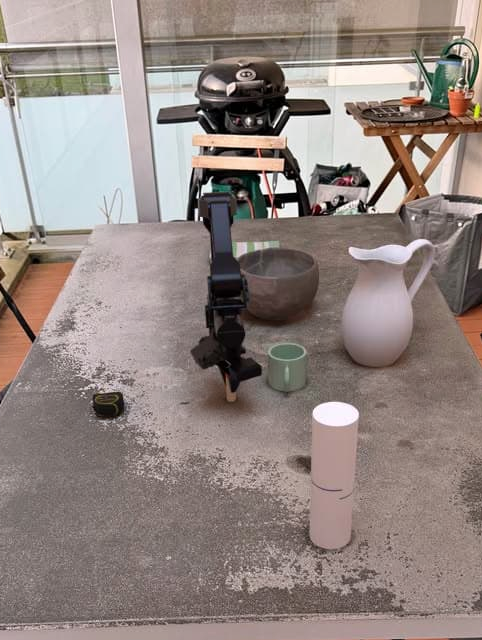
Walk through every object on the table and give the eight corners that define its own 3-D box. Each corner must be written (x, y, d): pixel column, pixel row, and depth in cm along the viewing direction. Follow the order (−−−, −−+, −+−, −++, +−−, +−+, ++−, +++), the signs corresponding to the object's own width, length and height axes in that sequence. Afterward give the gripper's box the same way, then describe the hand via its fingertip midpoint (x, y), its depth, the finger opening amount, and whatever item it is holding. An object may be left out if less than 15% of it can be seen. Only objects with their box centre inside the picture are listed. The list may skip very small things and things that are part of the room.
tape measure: (124, 402, 167) (122, 388, 165) (125, 418, 161) (123, 403, 159) (93, 406, 166) (91, 391, 164) (94, 421, 160) (91, 407, 158)
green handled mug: (268, 372, 176) (268, 342, 172) (305, 373, 176) (306, 342, 171) (267, 398, 167) (266, 367, 162) (306, 398, 166) (306, 367, 162)
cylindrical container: (306, 523, 131) (309, 403, 116) (346, 520, 131) (353, 400, 117) (312, 550, 125) (316, 427, 110) (354, 547, 125) (363, 424, 111)
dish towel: (281, 263, 236) (281, 255, 234) (209, 265, 236) (208, 257, 234) (279, 244, 251) (279, 236, 249) (210, 246, 251) (210, 238, 249)
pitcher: (365, 379, 172) (374, 265, 157) (326, 351, 185) (331, 242, 169) (445, 355, 181) (461, 245, 165) (403, 330, 194) (414, 225, 178)
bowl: (218, 323, 200) (215, 270, 192) (251, 290, 218) (250, 241, 210) (302, 336, 192) (303, 281, 184) (329, 300, 211) (331, 249, 202)
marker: (225, 401, 166) (223, 369, 162) (229, 396, 168) (227, 365, 163) (233, 402, 165) (232, 371, 161) (237, 398, 167) (236, 367, 162)
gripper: (175, 319, 160) (180, 382, 169) (215, 353, 146) (218, 419, 155) (220, 308, 164) (223, 369, 173) (262, 339, 151) (264, 404, 160)
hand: (231, 390), depth 165 cm, fingers closed on marker, 2 cm apart
